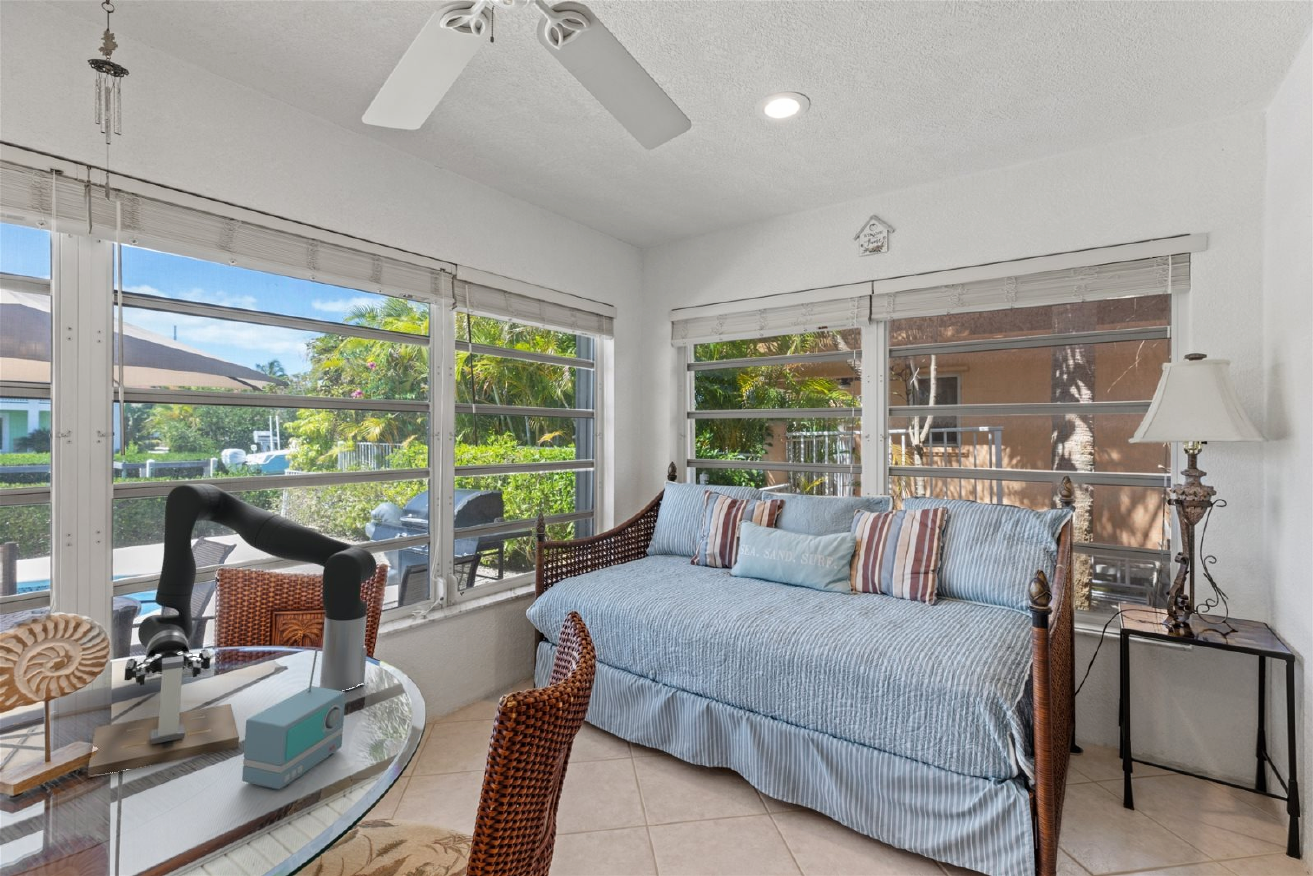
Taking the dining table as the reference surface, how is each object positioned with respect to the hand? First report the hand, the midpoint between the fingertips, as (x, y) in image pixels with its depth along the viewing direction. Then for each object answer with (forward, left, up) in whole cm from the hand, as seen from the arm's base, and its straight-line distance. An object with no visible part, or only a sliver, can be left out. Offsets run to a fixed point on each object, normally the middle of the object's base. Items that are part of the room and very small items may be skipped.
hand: (169, 676), depth 129 cm
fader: (0, +10, -8) cm, 13 cm away
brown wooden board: (0, +7, -10) cm, 13 cm away
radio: (-19, +29, -11) cm, 36 cm away
